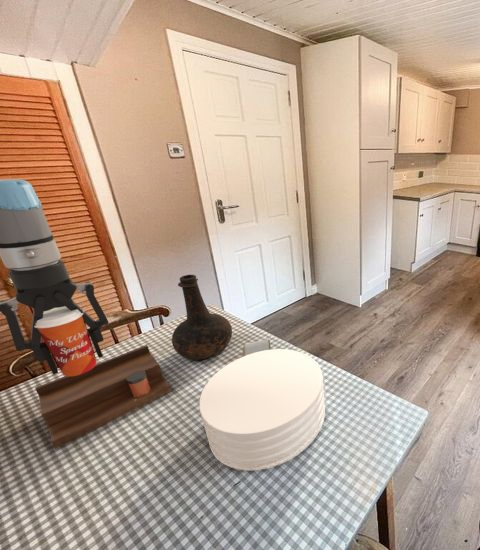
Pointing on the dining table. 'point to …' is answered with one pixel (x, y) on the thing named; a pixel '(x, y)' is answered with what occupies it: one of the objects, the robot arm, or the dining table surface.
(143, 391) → the small spice jar
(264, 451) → the plate stack
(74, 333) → the paper cup
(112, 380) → the spice rack
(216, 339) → the glass bottle
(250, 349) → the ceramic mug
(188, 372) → the dining table surface
